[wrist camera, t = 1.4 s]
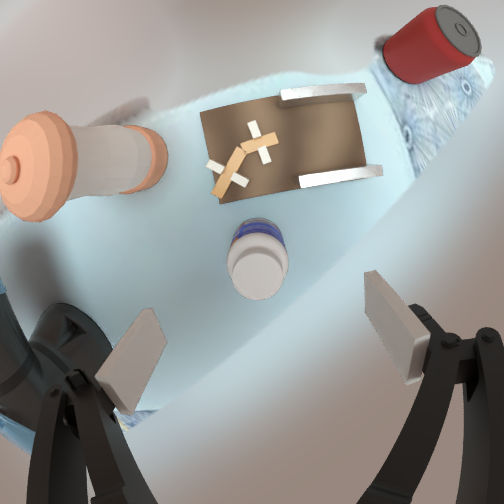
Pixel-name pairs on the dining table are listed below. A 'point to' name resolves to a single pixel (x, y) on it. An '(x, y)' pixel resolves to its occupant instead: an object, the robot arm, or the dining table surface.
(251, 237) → the pill bottle
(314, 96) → the end holder
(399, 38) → the beer can
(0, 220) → the dining table surface
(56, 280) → the dining table surface
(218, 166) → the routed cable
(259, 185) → the board
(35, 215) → the pepper shaker
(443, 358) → the robot arm
